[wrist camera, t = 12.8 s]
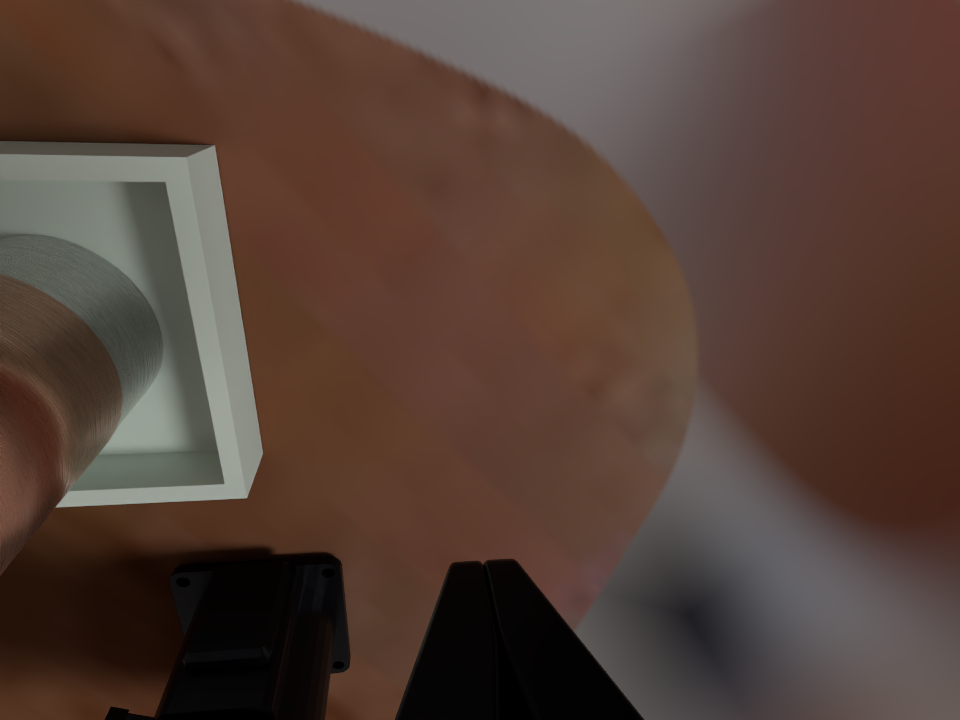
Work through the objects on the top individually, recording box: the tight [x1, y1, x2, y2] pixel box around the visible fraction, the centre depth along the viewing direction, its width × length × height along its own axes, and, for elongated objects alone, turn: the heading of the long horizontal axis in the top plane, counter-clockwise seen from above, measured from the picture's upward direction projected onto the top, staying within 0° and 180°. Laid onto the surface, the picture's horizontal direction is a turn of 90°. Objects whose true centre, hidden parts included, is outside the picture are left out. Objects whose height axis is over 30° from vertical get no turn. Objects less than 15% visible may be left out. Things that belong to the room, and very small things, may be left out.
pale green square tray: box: [0, 141, 263, 507], centre depth 17 cm, size 11×11×2 cm
